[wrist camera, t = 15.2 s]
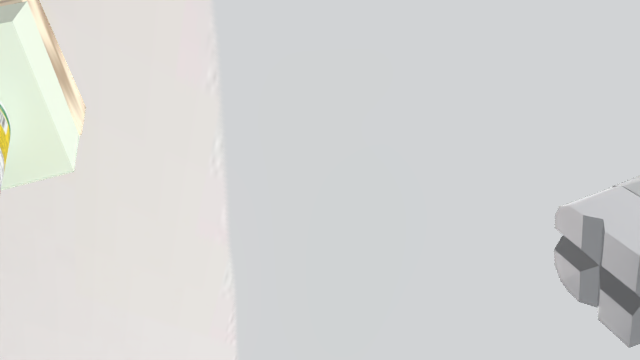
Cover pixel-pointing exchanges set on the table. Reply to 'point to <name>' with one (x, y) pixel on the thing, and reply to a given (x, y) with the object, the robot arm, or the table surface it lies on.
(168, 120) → the table surface
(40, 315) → the table surface
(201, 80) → the table surface
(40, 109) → the tower top block
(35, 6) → the tower bottom block
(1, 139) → the supplement bottle
